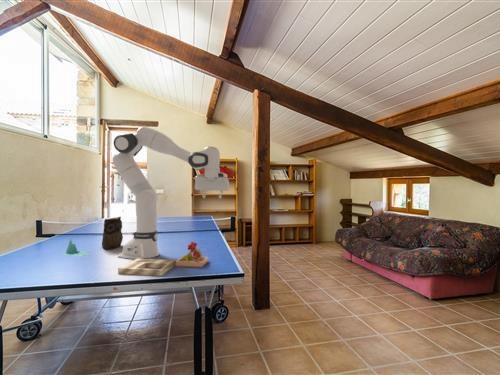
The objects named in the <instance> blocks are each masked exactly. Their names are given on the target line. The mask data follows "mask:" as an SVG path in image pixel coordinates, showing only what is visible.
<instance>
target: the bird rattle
mask: <svg viewBox="0 0 500 375" xmlns="http://www.w3.org/2000/svg"><path fill="white" fill-rule="evenodd" d="M197 246H198V244H197V243H196V242H194V241H191V242H190V243H189V244H188V245H187V250H188V251H189V252H188V253H187V254H185V255H183V256H184V259H185V261H187V262H190V260H192V261H196V262H199V260H200V259H201V257H203V252H202V250H201V249H200V248H198V247H197ZM192 256H193V257H192Z"/></svg>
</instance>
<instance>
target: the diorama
mask: <svg viewBox="0 0 500 375" xmlns="http://www.w3.org/2000/svg"><path fill="white" fill-rule="evenodd" d="M91 254H92V252H91V251H85V250H84V251H83V250H78V248H77V246H76V244H75V243H74V242H73V239H71V238H70V239H69V242H68V245H67V249H66V252H63V253H62V255H63V256H65V257H66V256H68V257H80V256H81V257H82V256H88V255H89V256H90V255H91Z"/></svg>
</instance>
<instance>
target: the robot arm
mask: <svg viewBox="0 0 500 375" xmlns="http://www.w3.org/2000/svg"><path fill="white" fill-rule="evenodd" d="M113 147H114V149H115V150H116V151H118V152H116V153H115V154H114V155H113V156H112V162H113V165H114V168H115V169H116V171H117V173H118V174H119V176H120V178H121V179H122V181H123V182H124V184H125V185H126V186H127V188H128V189H129V191H130V192H131V193H132V194H133V196H135V198H134V200H135V214H136V231H135V232H133V233H132V236H133V237H132V238H131V239H130V240H129V241H127V242H126V243H125V244H124V245H123V247H122V252H120V253H119V254H117V255H118V256H117V257H118V258H124V259H131V260H135V259H152V258H155V257H159V255H160V252H159V248H158V247H159V246H158V230H157V226H158V222H157V221H158V216H157V201H158V194H157V193H156V190H155V189H154V187H153V186H152V185H151V183H150V181H149V180H148V179H147V178H146V177H145V175H144V173H143V172H142V170H141V168H140V167H139V165H138V163H137V162H136V160H135V158H134V157H136V156H137V155H138V153H139V152H141V150H142V149H143V147H145V148H148V149H150V150H152V151H154V152H157V153H160V154H164V155H169V156H173V157H176V158H177V159H179V160H182V161H184V162H186V163H188V164H189V166H191V167H192V169H194V170H195V171H202V170H204V174H197V175H195V177H194V181H195V183H194V190H196V191H200V193H201V195H202V198H203V199H206V198H207V197H206V196H207V195H206V194H205V193H204V192H205V191H220V194H218V195H217V196H218V199H222V195H223V193H224V191H229V190H230V181H229V179H228V174H227V173H225V172H221V168H220V163H221V156H220V154H221V153H220V150H219V149H218V148H217V147H214V146H206V147H204V148H203V149H201V150H197V151H193V152H191V151H188V150H186V149H184V148H182V147H180V146H179V145H178V144H177V143H175V142H174V141H173V140H172V139H171V138H170V137H169V136H167V135H166V134H165V133H163V132H161V131H158V130H156V129H154V128H151V127H147V126H140V127H139V128H138V129H137V130H136V131H135V133H132V132H129V133H121V134H118V135H117V136H115V137H114V139H113Z"/></svg>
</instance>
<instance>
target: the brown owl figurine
mask: <svg viewBox="0 0 500 375" xmlns="http://www.w3.org/2000/svg"><path fill="white" fill-rule="evenodd" d="M103 222H104V223H103V232H102V240H101V248H103V249H104V251H105V250H106V251H109V250H110V251H111V250H115V249H118V248H121V246H122V242H123V238H124V236H123V232H122V228H123V222H122V219H121V216H118V217H110V218H105V219H104V221H103Z"/></svg>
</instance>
